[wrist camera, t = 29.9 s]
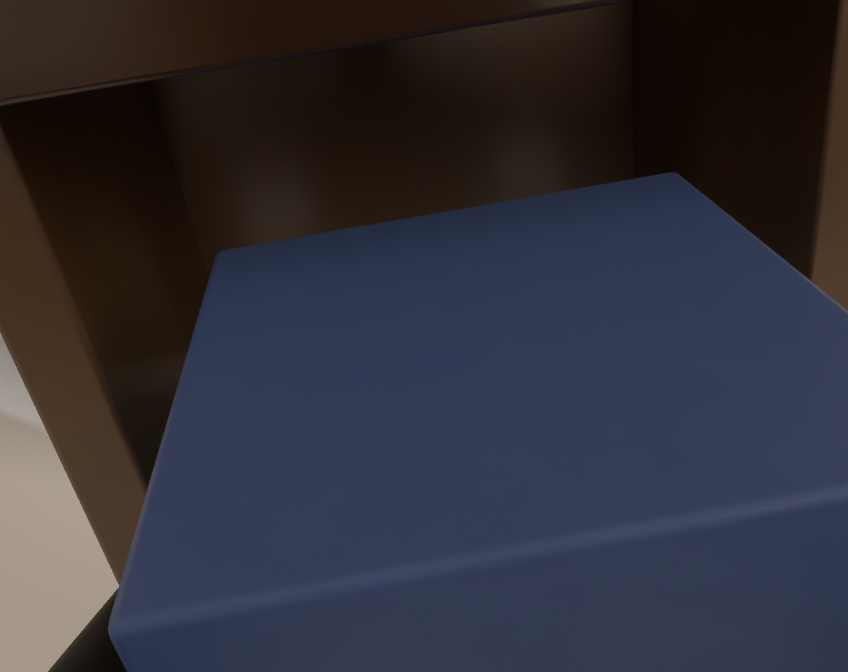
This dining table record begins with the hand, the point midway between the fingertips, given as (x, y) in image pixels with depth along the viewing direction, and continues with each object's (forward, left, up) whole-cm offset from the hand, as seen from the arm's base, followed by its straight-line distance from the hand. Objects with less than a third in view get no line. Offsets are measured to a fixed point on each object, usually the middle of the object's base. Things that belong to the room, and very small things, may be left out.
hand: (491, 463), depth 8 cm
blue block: (0, 0, -1) cm, 1 cm away
